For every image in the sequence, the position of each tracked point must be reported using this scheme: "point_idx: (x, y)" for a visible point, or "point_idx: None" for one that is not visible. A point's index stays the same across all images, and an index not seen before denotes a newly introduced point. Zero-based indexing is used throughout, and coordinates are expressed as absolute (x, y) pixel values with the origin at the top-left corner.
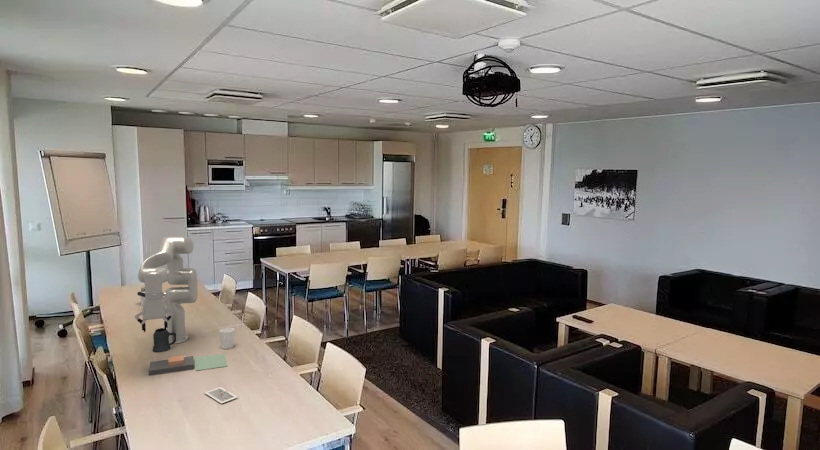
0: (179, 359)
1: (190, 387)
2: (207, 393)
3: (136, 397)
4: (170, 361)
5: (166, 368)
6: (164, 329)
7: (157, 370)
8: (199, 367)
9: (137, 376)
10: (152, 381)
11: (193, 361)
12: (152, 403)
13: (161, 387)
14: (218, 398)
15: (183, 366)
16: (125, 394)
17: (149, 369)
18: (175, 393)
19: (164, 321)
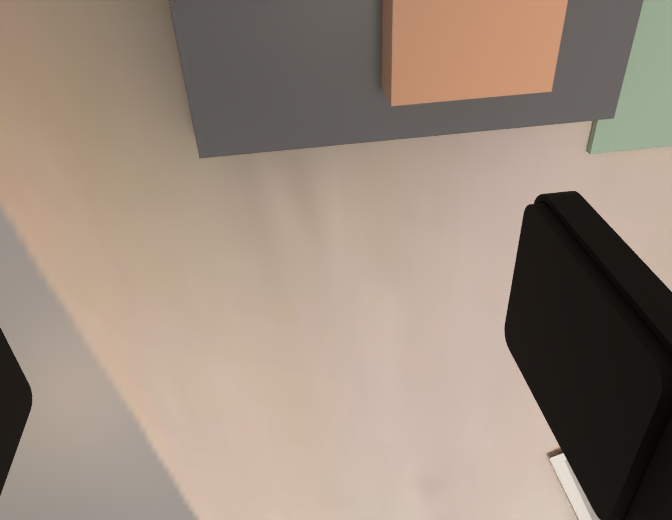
0: (511, 58)
1: (497, 383)
2: (561, 466)
3: (204, 435)
4: (413, 91)
5: (363, 141)
6: (510, 349)
7: (280, 146)
8: (638, 96)
9: (93, 120)
10: (257, 256)
11: (631, 34)
12: (304, 492)
13: (332, 354)
14: (589, 505)
15: (515, 125)
16: (121, 396)
17: (199, 127)
18: (413, 428)
19: (653, 427)
